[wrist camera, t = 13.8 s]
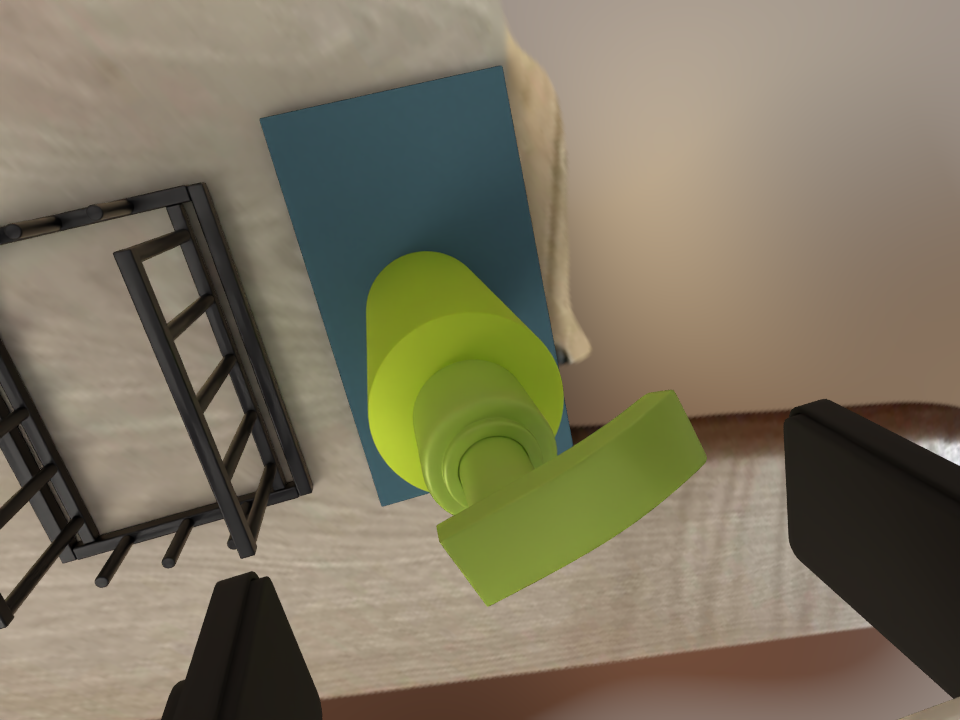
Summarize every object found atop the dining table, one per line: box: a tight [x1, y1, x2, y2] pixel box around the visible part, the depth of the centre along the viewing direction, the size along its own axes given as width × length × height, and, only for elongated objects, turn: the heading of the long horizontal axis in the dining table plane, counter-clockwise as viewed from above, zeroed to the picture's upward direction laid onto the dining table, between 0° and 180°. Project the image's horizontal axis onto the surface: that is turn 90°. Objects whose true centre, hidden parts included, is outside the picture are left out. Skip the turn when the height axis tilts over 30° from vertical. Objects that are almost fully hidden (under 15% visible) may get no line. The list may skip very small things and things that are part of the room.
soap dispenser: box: [366, 251, 707, 606], centre depth 21 cm, size 6×7×20 cm
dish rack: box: [0, 182, 313, 629], centre depth 26 cm, size 16×13×8 cm
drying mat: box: [260, 65, 573, 506], centre depth 31 cm, size 20×11×1 cm, turn 13°
